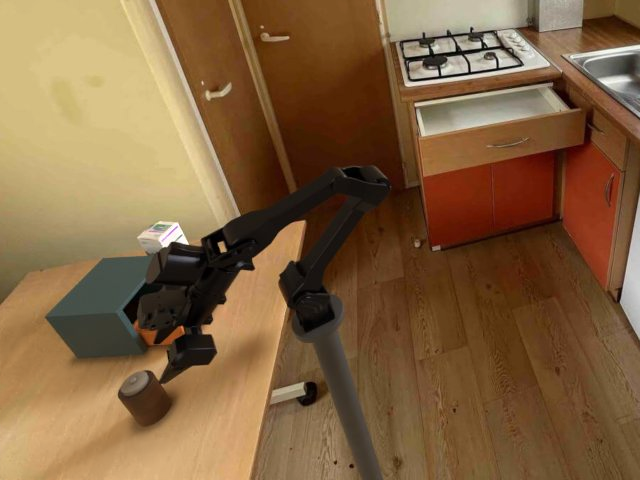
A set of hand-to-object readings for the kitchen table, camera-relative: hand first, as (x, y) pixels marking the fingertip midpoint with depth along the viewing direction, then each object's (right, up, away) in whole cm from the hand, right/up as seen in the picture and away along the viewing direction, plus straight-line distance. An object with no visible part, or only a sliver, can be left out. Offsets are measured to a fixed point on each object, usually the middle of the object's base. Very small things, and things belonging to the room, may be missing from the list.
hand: (158, 362), depth 75 cm
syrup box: (-20, +3, +30) cm, 36 cm away
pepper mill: (-3, -11, +3) cm, 11 cm away
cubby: (-20, -3, +18) cm, 27 cm away
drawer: (-10, -2, +18) cm, 21 cm away
